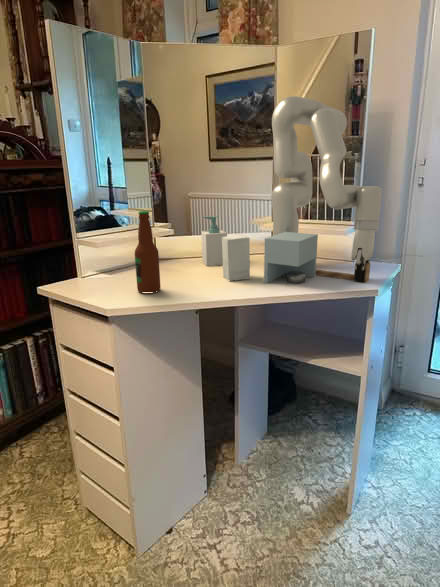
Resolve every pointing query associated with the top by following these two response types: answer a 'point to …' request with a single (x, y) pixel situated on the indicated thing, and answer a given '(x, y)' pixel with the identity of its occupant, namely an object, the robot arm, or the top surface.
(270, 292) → the top surface
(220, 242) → the soap bottle
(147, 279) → the bottle
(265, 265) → the cabinet
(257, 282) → the top surface
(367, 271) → the brown piece
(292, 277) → the puck
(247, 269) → the skincare box
